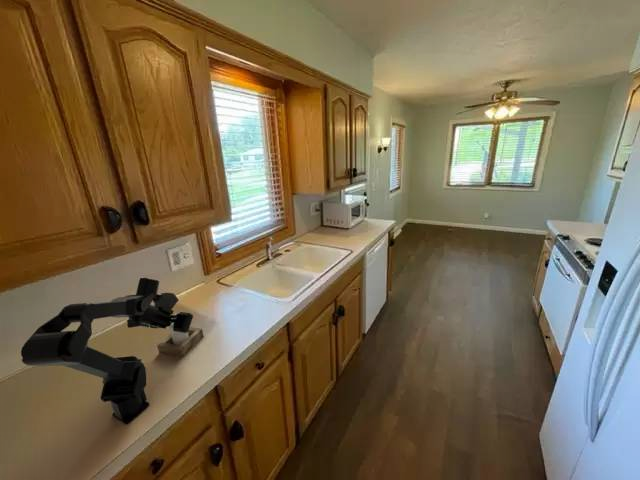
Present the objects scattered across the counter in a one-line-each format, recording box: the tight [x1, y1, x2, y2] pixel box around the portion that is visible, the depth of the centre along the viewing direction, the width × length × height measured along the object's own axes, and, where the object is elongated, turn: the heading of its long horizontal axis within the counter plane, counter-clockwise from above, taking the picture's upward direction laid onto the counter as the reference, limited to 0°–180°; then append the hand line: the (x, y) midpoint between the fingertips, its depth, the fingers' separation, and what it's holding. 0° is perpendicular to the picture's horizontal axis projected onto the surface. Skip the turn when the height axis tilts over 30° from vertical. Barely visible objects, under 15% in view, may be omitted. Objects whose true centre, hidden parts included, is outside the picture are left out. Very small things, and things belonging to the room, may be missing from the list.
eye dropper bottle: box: [169, 313, 189, 345], centre depth 98 cm, size 4×6×12 cm
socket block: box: [157, 326, 204, 359], centre depth 100 cm, size 12×10×4 cm
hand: (180, 324), depth 99 cm, fingers closed on eye dropper bottle, 5 cm apart
